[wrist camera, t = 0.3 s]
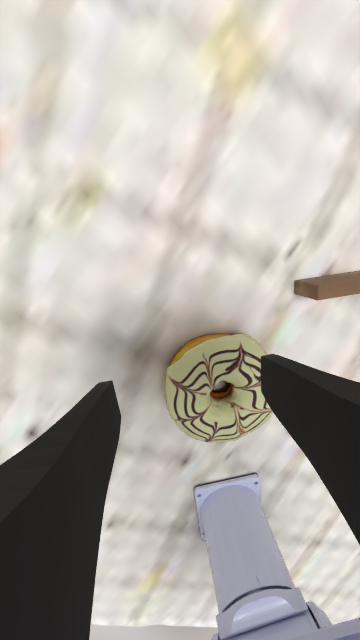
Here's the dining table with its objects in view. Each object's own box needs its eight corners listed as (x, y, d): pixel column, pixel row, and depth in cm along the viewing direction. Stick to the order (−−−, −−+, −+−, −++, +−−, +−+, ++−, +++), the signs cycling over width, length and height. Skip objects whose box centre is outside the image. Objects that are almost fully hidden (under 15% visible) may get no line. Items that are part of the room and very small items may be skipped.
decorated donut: (243, 308, 20) (263, 319, 17) (278, 392, 24) (300, 417, 20) (144, 359, 21) (143, 381, 17) (193, 435, 24) (200, 467, 20)
